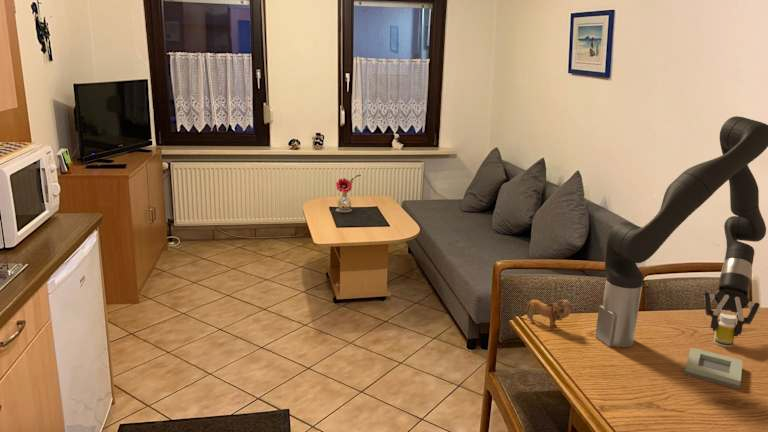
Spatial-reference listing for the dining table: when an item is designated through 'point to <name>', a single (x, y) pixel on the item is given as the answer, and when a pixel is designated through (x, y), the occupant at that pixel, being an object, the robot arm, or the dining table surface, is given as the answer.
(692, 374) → the recess plate
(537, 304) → the lion figurine
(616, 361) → the dining table surface
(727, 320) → the supplement bottle
